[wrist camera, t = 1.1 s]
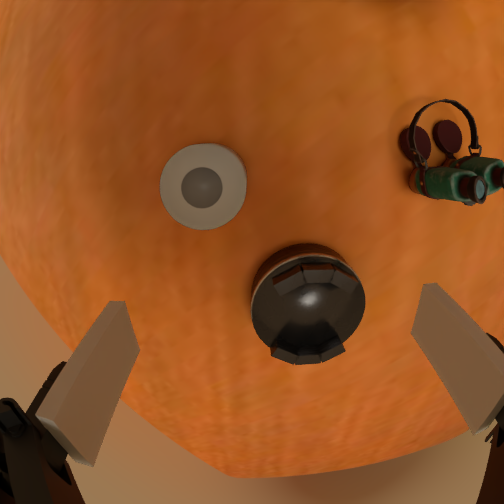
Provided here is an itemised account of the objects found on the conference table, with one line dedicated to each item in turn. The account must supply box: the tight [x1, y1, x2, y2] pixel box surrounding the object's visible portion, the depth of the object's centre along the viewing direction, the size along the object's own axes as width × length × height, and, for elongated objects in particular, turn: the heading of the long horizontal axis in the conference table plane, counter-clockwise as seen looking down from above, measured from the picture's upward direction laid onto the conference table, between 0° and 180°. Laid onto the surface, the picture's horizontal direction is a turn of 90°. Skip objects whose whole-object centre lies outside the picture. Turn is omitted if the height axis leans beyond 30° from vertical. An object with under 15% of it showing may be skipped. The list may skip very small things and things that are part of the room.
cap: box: [160, 143, 247, 230], centre depth 23 cm, size 6×6×6 cm
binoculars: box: [400, 99, 504, 206], centre depth 20 cm, size 9×11×10 cm
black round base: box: [251, 243, 365, 365], centre depth 28 cm, size 11×11×6 cm
